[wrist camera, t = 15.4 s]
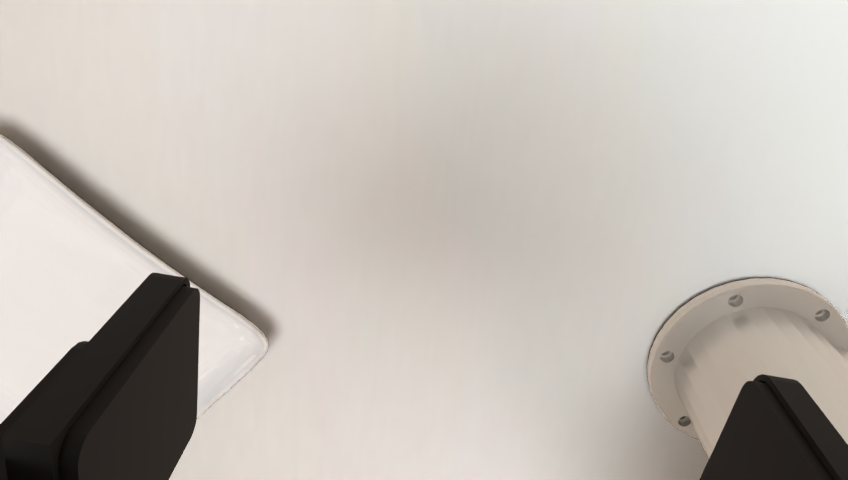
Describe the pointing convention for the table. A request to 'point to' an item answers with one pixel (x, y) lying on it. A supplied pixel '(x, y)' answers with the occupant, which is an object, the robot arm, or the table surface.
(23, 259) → the salad plate
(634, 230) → the table surface
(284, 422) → the table surface
